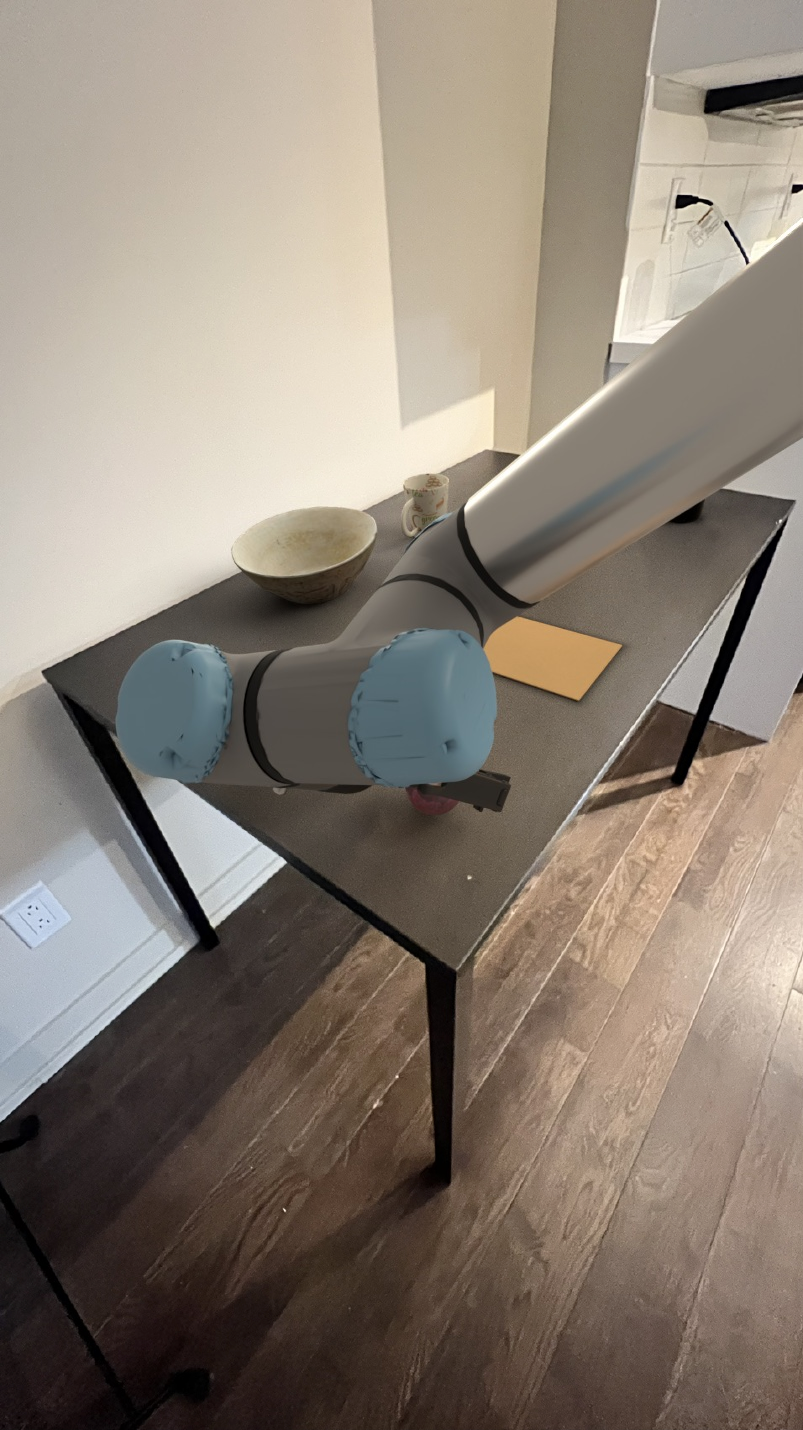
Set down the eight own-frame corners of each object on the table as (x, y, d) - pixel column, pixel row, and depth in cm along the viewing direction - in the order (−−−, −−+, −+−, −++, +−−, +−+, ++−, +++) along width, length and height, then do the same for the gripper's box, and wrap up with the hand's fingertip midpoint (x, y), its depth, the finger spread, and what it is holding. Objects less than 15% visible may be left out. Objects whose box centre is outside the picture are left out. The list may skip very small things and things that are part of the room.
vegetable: (451, 781, 68) (447, 711, 62) (475, 821, 64) (474, 749, 57) (399, 799, 67) (390, 728, 61) (420, 840, 62) (412, 769, 56)
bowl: (267, 643, 94) (251, 583, 87) (231, 581, 111) (215, 527, 104) (407, 599, 100) (402, 540, 94) (353, 547, 117) (345, 494, 111)
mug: (458, 528, 120) (457, 476, 113) (425, 555, 112) (421, 500, 106) (421, 522, 124) (418, 471, 117) (386, 548, 116) (381, 494, 109)
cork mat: (622, 646, 85) (622, 645, 85) (578, 701, 77) (578, 700, 77) (493, 610, 95) (493, 609, 95) (443, 656, 87) (443, 655, 87)
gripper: (200, 731, 51) (345, 756, 70) (445, 861, 39) (542, 849, 58) (231, 646, 51) (369, 694, 70) (488, 750, 39) (572, 774, 58)
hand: (447, 764), depth 64 cm, fingers open, 12 cm apart
